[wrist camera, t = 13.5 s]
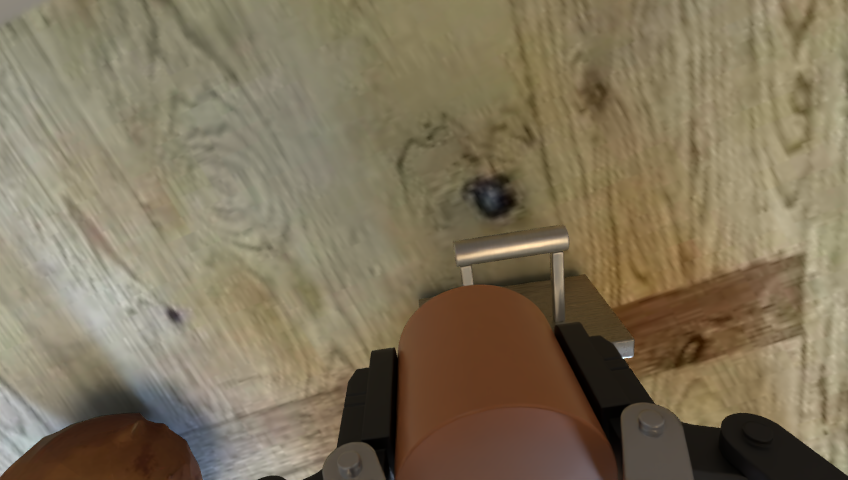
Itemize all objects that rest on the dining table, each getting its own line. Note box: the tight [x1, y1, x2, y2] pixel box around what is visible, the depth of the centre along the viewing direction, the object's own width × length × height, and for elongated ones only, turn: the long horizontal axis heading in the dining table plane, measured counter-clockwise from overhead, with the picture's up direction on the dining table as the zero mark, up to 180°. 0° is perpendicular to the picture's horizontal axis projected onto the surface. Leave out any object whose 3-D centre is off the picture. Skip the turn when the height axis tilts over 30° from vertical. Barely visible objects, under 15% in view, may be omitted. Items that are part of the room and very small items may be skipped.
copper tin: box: [394, 285, 618, 480], centre depth 12 cm, size 5×5×5 cm
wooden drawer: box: [419, 225, 634, 358], centre depth 29 cm, size 19×11×7 cm, turn 9°
